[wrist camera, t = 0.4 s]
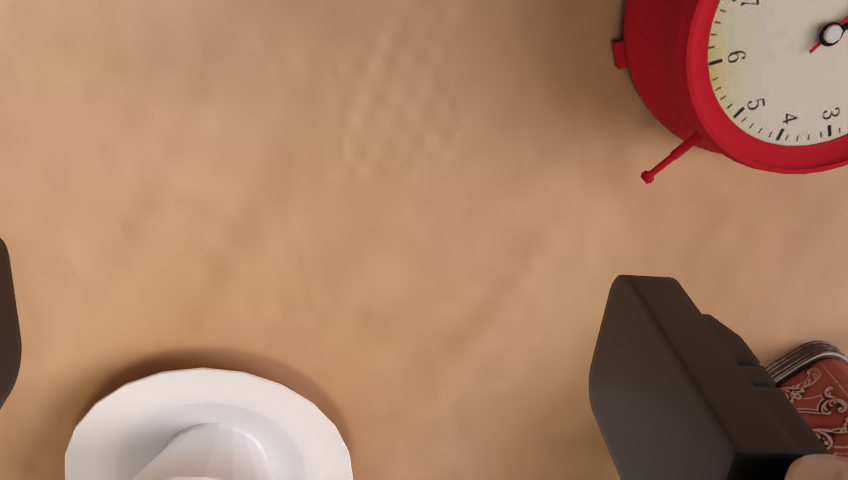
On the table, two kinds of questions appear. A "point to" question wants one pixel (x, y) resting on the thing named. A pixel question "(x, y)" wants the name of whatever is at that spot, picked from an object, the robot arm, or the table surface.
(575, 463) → the table surface
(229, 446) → the teacup
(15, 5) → the table surface
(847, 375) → the lighter
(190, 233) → the table surface
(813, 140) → the alarm clock
